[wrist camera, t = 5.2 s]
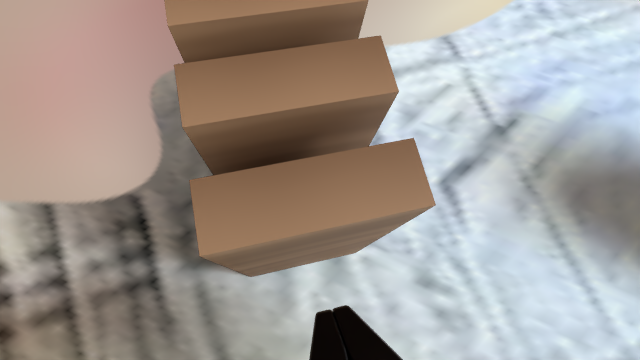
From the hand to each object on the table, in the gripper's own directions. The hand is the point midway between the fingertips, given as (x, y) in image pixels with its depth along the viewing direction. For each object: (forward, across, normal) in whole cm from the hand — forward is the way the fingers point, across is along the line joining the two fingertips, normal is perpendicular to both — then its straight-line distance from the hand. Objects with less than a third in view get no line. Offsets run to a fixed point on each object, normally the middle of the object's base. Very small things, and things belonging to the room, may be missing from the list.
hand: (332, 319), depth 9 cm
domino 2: (+9, 0, +2) cm, 9 cm away
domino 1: (+7, 0, +4) cm, 8 cm away
